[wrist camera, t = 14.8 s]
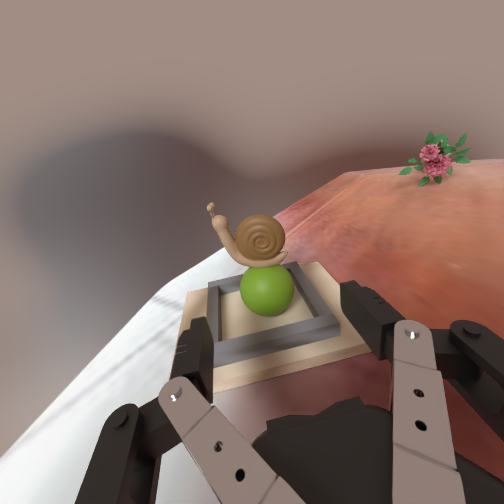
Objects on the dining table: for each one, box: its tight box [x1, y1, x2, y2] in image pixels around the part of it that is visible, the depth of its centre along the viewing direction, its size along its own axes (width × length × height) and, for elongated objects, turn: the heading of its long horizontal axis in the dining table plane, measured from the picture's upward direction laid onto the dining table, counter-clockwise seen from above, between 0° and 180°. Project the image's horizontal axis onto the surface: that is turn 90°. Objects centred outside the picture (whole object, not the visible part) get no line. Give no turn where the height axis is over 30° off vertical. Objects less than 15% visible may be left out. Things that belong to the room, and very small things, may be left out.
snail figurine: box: [207, 203, 294, 316], centre depth 22 cm, size 5×6×12 cm
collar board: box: [169, 261, 372, 394], centre depth 24 cm, size 18×14×3 cm
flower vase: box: [399, 131, 471, 186], centre depth 59 cm, size 12×12×35 cm
